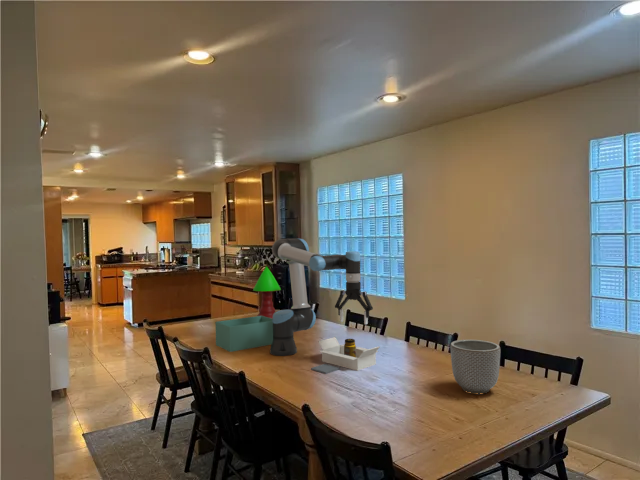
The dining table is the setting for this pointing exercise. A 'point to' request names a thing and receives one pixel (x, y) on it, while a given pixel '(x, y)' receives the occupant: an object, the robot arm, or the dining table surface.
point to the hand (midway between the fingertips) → (353, 322)
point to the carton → (336, 356)
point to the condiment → (350, 347)
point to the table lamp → (266, 292)
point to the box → (244, 333)
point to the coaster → (325, 368)
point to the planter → (475, 364)
